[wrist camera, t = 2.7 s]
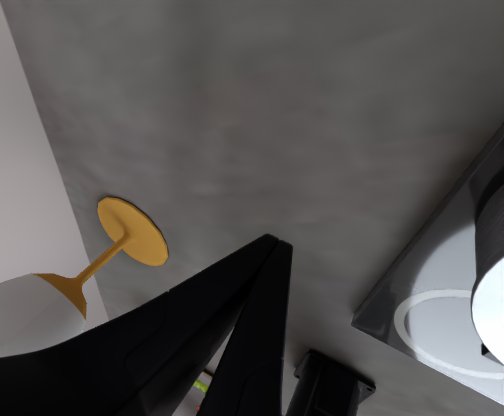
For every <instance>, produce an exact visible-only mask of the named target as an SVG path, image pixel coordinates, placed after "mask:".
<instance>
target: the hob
mask: <svg viewBox="0 0 504 416" xmlns="http://www.w3.org/2000/svg"><path fill="white" fill-rule="evenodd" d="M502 185H504V123H503V124H502V125H501V127H500V128H499V129H498V131H497V132H496V133H495V134H494V136H493V137H492V138H491V139H490V141H489V142H488V143H487V145H486V146H485V147H484V148H483V150H482V151H481V152H480V154H479V155H478V156H477V157H476V159H475V160H474V161H473V163H472V164H471V165H470V166H469V168H468V169H467V170H466V172H465V173H464V174H463V175H462V177H461V178H460V179H459V181H458V182H457V183H456V184H455V186H454V187H453V188H452V189H451V191H450V192H449V193H448V195H447V196H446V197H445V198H444V200H443V201H442V202H441V204H440V205H439V206H438V207H437V209H436V210H435V211H434V213H433V214H432V215H431V216H430V218H429V219H428V220H427V222H426V223H425V224H424V225H423V227H422V228H421V229H420V231H419V232H418V233H417V234H416V236H415V237H414V238H413V239H412V241H411V242H410V243H409V245H408V246H407V247H406V248H405V250H404V251H403V252H402V254H401V255H400V256H399V257H398V259H397V260H396V261H395V263H394V264H393V265H392V266H391V268H390V269H389V270H388V272H387V273H386V274H385V275H384V277H383V278H382V279H381V280H380V282H379V283H378V284H377V286H376V287H375V288H374V289H373V291H372V292H371V293H370V295H369V296H368V297H367V298H366V300H365V301H364V302H363V304H362V305H361V306H360V307H359V309H358V310H357V311H356V313H355V314H354V316H353V319H352V322H351V326H353V327H355V328H357V329H359V330H361V331H363V332H365V333H367V334H369V335H370V336H372V337H374V338H376V339H378V340H380V341H382V342H384V343H386V344H388V345H389V346H391V347H393V348H395V349H397V350H399V351H401V352H403V353H405V354H407V355H409V356H410V357H412V358H414V359H416V360H418V361H420V362H422V363H424V364H426V365H428V366H429V367H431V368H433V369H435V370H437V371H439V372H441V373H443V374H445V375H447V376H449V377H450V378H452V379H454V380H456V381H458V382H460V383H462V384H464V385H466V386H468V387H469V388H471V389H473V390H475V391H477V392H479V393H481V394H483V395H485V396H487V397H489V398H490V399H492V400H494V401H496V402H498V403H500V404H502V405H504V366H502V365H500V364H498V363H496V362H494V361H492V360H490V359H488V358H486V357H484V356H482V354H481V344H482V343H483V342H482V341H481V339H480V337H479V336H478V334H477V332H476V330H475V328H474V325H473V321H472V318H471V308H470V300H471V293H472V288H473V285H474V283H475V280H476V260H475V230H476V224H477V222H478V219H479V216H480V214H481V212H482V210H483V208H484V207H485V205H486V203H487V202H488V201H489V200H490V198H491V197H492V196H493V194H494V193H495V192H496V191H497V190H498V189H499V188H500V187H501V186H502Z"/></svg>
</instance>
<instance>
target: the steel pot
mask: <svg viewBox="0 0 504 416" xmlns="http://www.w3.org/2000/svg"><path fill="white" fill-rule="evenodd" d="M475 260H476V280H475V283H474V285H473V288H472V293H471V300H470V308H471V318H472V321H473V325H474V328H475V330H476V332H477V334H478V336H479V337H480V339H481V341H482V342H483V343H482V344H481V354H482V356H484V357H486V358H488V359H490V360H492V361H494V362H496V363H498V364H500V365H502V366H504V185H502V186H501V187H500V188H499V189H498V190H497V191H496V192H495V193H494V194H493V196H492V197H491V198H490V200H489V201H488V202H487V203H486V205H485V207H484V208H483V210H482V212H481V214H480V216H479V219H478V222H477V224H476V230H475Z"/></svg>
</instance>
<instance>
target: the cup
mask: <svg viewBox="0 0 504 416" xmlns="http://www.w3.org/2000/svg"><path fill="white" fill-rule="evenodd" d="M97 212H98V215H99V218H100V221H101V224H102V225H103V227H104V229H105V230H106V232H107V233H108V235H109V236H110V237H111V238H112V240H113V241H114V242H115V244H114V245H112V246H111V247H110V248H109V249H108V250H107V251H106V252H104V253H103V254H102V255H101V256H100V257H99V258H98V259H96V260H95V261H94V262H93V263H92V264H91V265H90V266H88V267H87V268H86V269H85V270H84V271H83V272H81V273H80V274H79V275H78V276H77V277H76V278H65V277H62V276H59V275H56V274H28V275H24V276H21V277H18V278H14V279H11V280H8V281H5V282H2V283H0V357H6V356H12V355H18V354H24V353H29V352H34V351H38V350H42V349H45V348H48V347H51V346H54V345H57V344H59V343H61V342H64V341H66V340H68V339H70V338H73V337H75V336H77V335H79V334H82V332H83V330H84V327H85V324H86V301H85V298H84V295H83V293H82V285H83V283H84V282H85V281H86V280H88V279H89V278H90V277H91V276H92V275H93V274H94V273H95V272H96V271H98V270H99V269H100V268H101V267H102V266H103V265H104V264H105V263H106V262H107V261H109V260H110V259H111V258H112V257H113V256H114V255H115V254H116V253H117V252H119V251H120V250H121V249H122V250H123V251H125V252H126V253H127V254H128V255H130V256H131V257H133V258H134V259H136V260H138V261H140V262H142V263H144V264H148V265H151V266H158V265H163V264H164V263H165V261H166V260H167V258H168V250H167V244H166V242H165V240H164V238H163V236H162V235H161V233H160V231H159V230H158V229H157V227H156V226H155V225H154V224H153V223H152V221H151V220H150V219H149V218H148V217H147V216H146V215H145V214H143V213H142V212H141V211H140V210H139V209H137V208H136V207H135V206H134V205H132V204H130V203H128V202H126V201H123V200H121V199H119V198H112V197H106V198H104V199H103V200H101V201H100V202H99V205H98V211H97Z"/></svg>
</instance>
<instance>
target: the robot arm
mask: <svg viewBox="0 0 504 416" xmlns="http://www.w3.org/2000/svg"><path fill="white" fill-rule="evenodd" d="M292 253H293V246H292V245H291V244H289V243H287V242H285V241H283V240H280V241H279V239H278V238H277V237H275V236H273V235H271V234H264V235H263V236H261V237H259V238H257V239H256V240H254V241H252V242H251V243H249V244H247V245H245V246H244V247H242V248H240V249H239V250H237V251H235V252H233V253H232V254H230V255H228V256H227V257H225V258H223V259H221V260H220V261H218V262H216V263H215V264H213V265H211V266H209V267H208V268H206V269H204V270H202V271H201V272H199V273H197V274H196V275H194V276H192V277H190V278H189V279H187V280H185V281H184V282H182V283H180V284H178V285H177V286H175V287H173V288H172V289H170V290H169V293H168V292H167V291H166V292H164V293H163V294H161V295H159V296H158V297H156V298H154V299H152V300H151V301H149V302H147V303H145V304H143V305H141V306H140V307H138V308H136V309H134V310H132V311H130V312H127V313H125V314H123V315H121V316H119V317H117V318H115V319H113V320H110V321H108V322H106V323H104V324H102V325H100V326H97V327H95V328H93V329H90V330H88V331H86V332H84V333H82V334H79V335H77V336H75V337H73V338H70V339H68V340H66V341H64V342H61V343H59V344H57V345H54V346H51V347H48V348H45V349H42V350H38V351H34V352H29V353H24V354H18V355H12V356H6V357H0V416H172V414H173V413H174V411H175V410H176V408H177V407H178V406H179V404H180V403H181V401H182V400H183V399H184V397H185V396H186V394H187V393H188V391H189V390H190V389H191V387H192V386H193V384H194V383H195V381H196V380H197V379H198V377H199V376H200V374H201V373H202V372H203V370H204V369H205V367H206V366H207V364H208V363H209V362H210V360H211V359H212V357H213V356H214V354H215V353H216V352H217V350H218V349H219V347H220V346H221V344H222V343H223V342H224V340H225V339H226V337H227V336H228V335H229V333H230V332H231V330H232V329H233V327H234V326H235V327H234V329H233V332H232V334H231V336H230V339H229V341H228V343H227V346H226V348H225V350H224V352H223V355H222V357H221V359H220V362H219V364H218V366H217V369H216V371H215V373H214V375H213V378H212V380H211V382H210V385H209V387H208V389H207V392H206V394H205V396H204V398H203V401H202V403H201V405H200V408H199V410H198V412H197V415H196V416H282V379H283V366H284V360H283V358H284V352H285V339H286V327H287V315H288V302H289V290H290V278H291V265H292ZM294 376H295V377H296V378H298V379H299V381H298V383H297V386H296V389H295V391H294V394H293V397H292V399H291V402H290V405H289V407H288V410H287V413H286V415H285V416H356V414H357V409H358V405H359V403H361V402H362V401H363V400H365V399H366V398H368V397H369V396H370V395H372V394H373V393H374V392H375V389H376V386H375V385H374V384H373V383H371V382H369V381H367V380H366V379H364V378H362V377H360V376H358V375H357V374H355V373H353V372H351V371H350V370H348V369H346V368H344V367H342V366H341V365H339V364H337V363H335V362H333V361H332V360H330V359H328V358H326V357H325V356H323V355H321V354H319V353H317V352H316V351H314V350H309V351H308V352H307V354H306V355H305V357H304V358H303V360H302V361H301V363H300V364H299V366H298V367H297V368H296V370H295V372H294Z"/></svg>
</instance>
